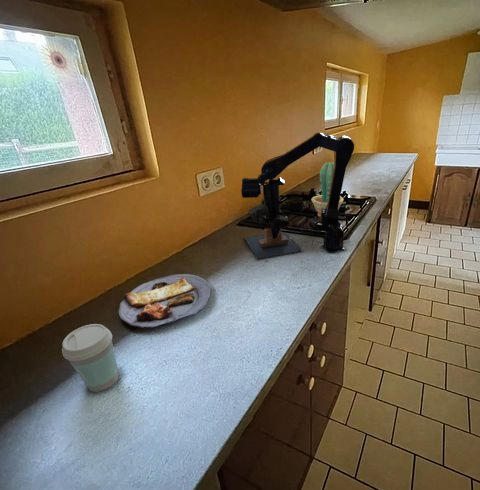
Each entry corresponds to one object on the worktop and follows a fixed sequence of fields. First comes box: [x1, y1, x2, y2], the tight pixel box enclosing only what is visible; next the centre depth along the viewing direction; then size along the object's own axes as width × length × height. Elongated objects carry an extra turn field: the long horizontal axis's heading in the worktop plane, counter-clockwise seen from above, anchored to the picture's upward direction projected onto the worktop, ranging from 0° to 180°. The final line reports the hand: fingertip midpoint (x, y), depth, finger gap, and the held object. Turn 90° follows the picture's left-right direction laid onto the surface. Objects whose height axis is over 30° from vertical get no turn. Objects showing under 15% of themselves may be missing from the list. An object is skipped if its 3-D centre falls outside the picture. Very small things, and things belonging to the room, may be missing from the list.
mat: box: [244, 231, 302, 261], centre depth 119 cm, size 17×20×1 cm
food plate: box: [117, 273, 211, 329], centre depth 86 cm, size 25×23×4 cm
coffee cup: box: [61, 323, 120, 393], centre depth 60 cm, size 8×8×12 cm
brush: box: [258, 227, 290, 250], centre depth 115 cm, size 11×4×7 cm, turn 109°
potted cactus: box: [311, 161, 345, 218], centre depth 142 cm, size 15×15×25 cm
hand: (273, 237), depth 115 cm, fingers closed on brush, 2 cm apart
